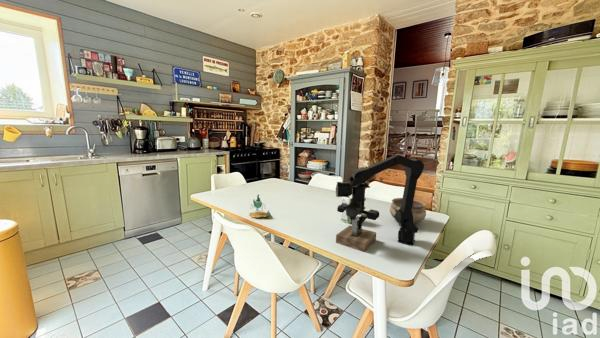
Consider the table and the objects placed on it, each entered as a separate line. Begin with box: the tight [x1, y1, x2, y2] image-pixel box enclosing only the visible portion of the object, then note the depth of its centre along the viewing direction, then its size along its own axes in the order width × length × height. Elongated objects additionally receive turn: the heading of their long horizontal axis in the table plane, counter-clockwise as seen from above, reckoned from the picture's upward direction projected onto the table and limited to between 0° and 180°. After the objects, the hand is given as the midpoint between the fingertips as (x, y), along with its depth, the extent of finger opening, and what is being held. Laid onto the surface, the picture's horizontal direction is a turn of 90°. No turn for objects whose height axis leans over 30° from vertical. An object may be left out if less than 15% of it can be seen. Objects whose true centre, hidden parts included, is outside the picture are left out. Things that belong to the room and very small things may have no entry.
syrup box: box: [340, 195, 352, 224], centre depth 138 cm, size 6×6×14 cm
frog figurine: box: [248, 194, 273, 219], centre depth 145 cm, size 10×18×15 cm, turn 53°
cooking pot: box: [389, 197, 427, 225], centre depth 137 cm, size 25×19×12 cm
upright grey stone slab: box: [351, 215, 363, 237], centre depth 113 cm, size 2×6×8 cm, turn 143°
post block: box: [335, 225, 377, 253], centre depth 114 cm, size 14×14×4 cm
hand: (356, 228), depth 113 cm, fingers closed on upright grey stone slab, 2 cm apart
